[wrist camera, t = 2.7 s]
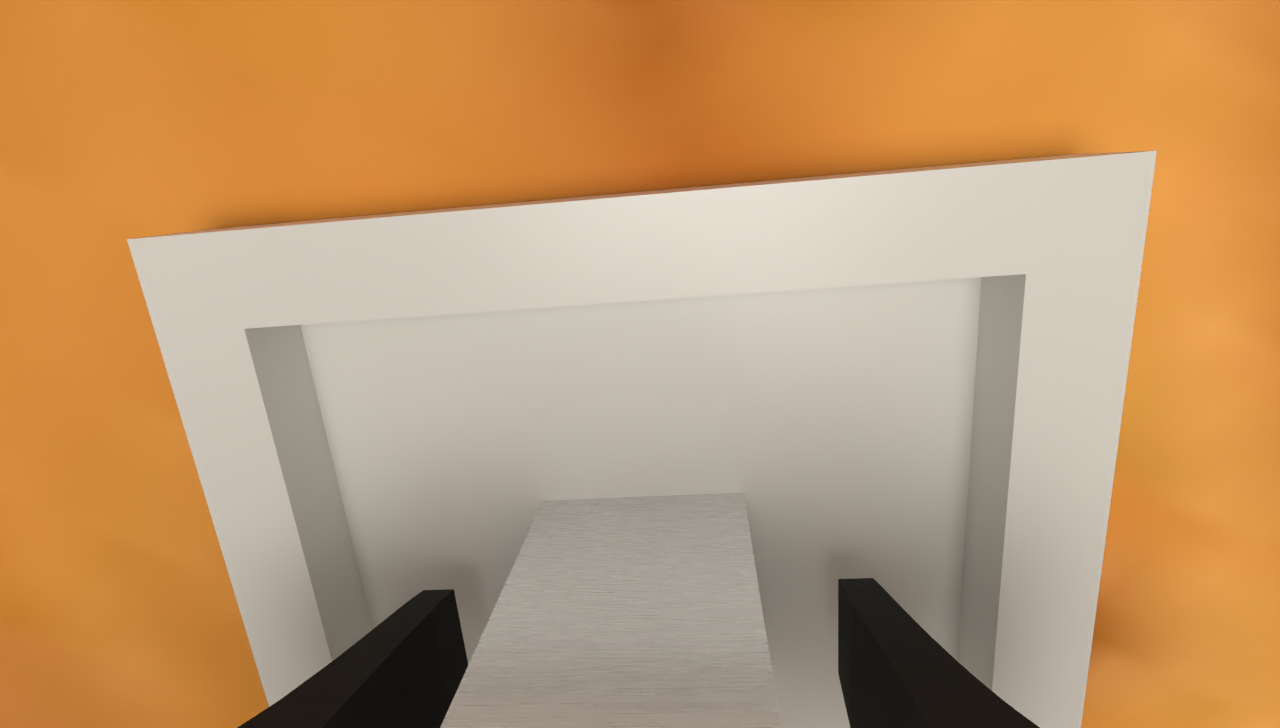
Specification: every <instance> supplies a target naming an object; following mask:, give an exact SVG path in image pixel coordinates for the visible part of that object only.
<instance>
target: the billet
mask: <svg viewBox="0 0 1280 728" xmlns="http://www.w3.org/2000/svg"><path fill="white" fill-rule="evenodd" d="M440 728H781V724H780V717H779V711H778V705H777V699H776V692H775V686H774V680H773V674H772V667H771V661H770V655H769V648H768V642H767V636H766V630H765V623H764V617H763V611H762V605H761V598H760V592H759V586H758V580H757V573H756V567H755V561H754V555H753V548H752V542H751V536H750V529H749V523H748V517H747V511H746V504H745V498H744V493H724V494H699V495H674V496H649V497H624V498H600V499H575V500H550V501H542V503H541V505H540V508H539V510H538V512H537V514H536V516H535V519H534V521H533V523H532V525H531V527H530V530H529V532H528V534H527V536H526V539H525V541H524V543H523V545H522V547H521V550H520V552H519V554H518V556H517V559H516V561H515V563H514V565H513V567H512V570H511V572H510V574H509V576H508V578H507V581H506V583H505V585H504V587H503V590H502V592H501V594H500V596H499V598H498V601H497V603H496V605H495V607H494V609H493V612H492V614H491V616H490V618H489V621H488V623H487V625H486V627H485V629H484V632H483V634H482V636H481V638H480V640H479V643H478V645H477V647H476V649H475V652H474V654H473V656H472V658H471V660H470V663H469V665H468V667H467V669H466V671H465V674H464V676H463V678H462V680H461V683H460V685H459V687H458V689H457V691H456V694H455V696H454V698H453V700H452V702H451V705H450V707H449V709H448V711H447V714H446V716H445V718H444V720H443V722H442V725H441V727H440Z"/></svg>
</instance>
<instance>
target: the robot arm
mask: <svg viewBox="0 0 1280 728" xmlns="http://www.w3.org/2000/svg"><path fill="white" fill-rule="evenodd" d="M467 667H468V660H467V655H466V650H465V644H464V639H463V634H462V629H461V624H460V619H459V613H458V608H457V603H456V598H455V593H454V589H446V590H423V591H422V592H420V593H419V594H417V595H416V596H414V597H413V598H412V599H410V600H409V601H408V602H406V603H405V604H404V605H403V606H401V607H400V608H399V609H398V610H396V611H395V612H394V613H393V614H391V615H390V616H389V617H388V618H386V619H385V620H384V621H383V622H381V623H380V624H379V625H378V626H376V627H375V628H374V629H373V630H371V631H370V632H369V633H368V634H366V635H365V636H364V637H363V638H361V639H360V640H359V641H357V642H356V643H355V644H354V645H352V646H351V647H350V648H349V649H347V650H346V651H345V652H344V653H342V654H341V655H340V656H339V657H337V658H336V659H335V660H333V661H332V662H331V663H329V664H328V665H327V666H325V667H324V668H323V669H321V670H320V671H318V672H317V673H316V674H314V675H313V676H312V677H310V678H309V679H308V680H306V681H305V682H303V683H302V684H301V685H299V686H298V687H297V688H295V689H294V690H293V691H291V692H290V693H289V694H287V695H286V696H284V697H283V698H282V699H280V700H279V701H277V702H276V703H274V704H273V705H271V706H270V707H268V708H267V709H265V710H264V711H262V712H261V713H259V714H258V715H256V716H255V717H253V718H252V719H250V720H249V721H247V722H246V723H244V724H242V725H241V726H239V727H238V728H440V727H441V725H442V722H443V720H444V718H445V716H446V714H447V711H448V709H449V707H450V705H451V702H452V700H453V698H454V696H455V694H456V691H457V689H458V687H459V685H460V683H461V680H462V678H463V676H464V674H465V671H466V669H467ZM838 674H839V679H840V683H841V688H842V693H843V697H844V702H845V706H846V711H847V715H848V719H849V724H850V728H1040V727H1038V726H1037V725H1036V724H1034V723H1033V722H1032V721H1030V720H1029V719H1027V718H1026V717H1025V716H1023V715H1022V714H1021V713H1019V712H1018V711H1017V710H1015V709H1014V708H1013V707H1011V706H1010V705H1009V704H1008V703H1006V702H1005V701H1004V700H1002V699H1001V698H1000V697H999V696H997V695H996V694H995V693H994V692H993V691H991V690H990V689H989V688H988V687H987V686H986V685H984V684H983V683H982V682H981V681H980V680H978V679H977V678H976V677H975V676H974V675H972V674H971V673H970V672H969V671H968V670H967V669H966V668H965V667H963V666H962V665H961V664H960V663H959V662H958V661H957V660H956V659H955V658H954V657H952V656H951V655H950V654H949V653H948V652H947V651H946V650H945V649H944V648H943V647H942V646H941V645H940V644H939V643H938V642H936V641H935V640H934V639H933V638H932V637H931V636H930V635H929V634H928V633H927V632H926V631H925V630H924V629H923V628H922V627H921V626H920V625H919V624H918V623H917V622H916V621H915V620H914V619H913V618H912V617H911V616H910V615H909V614H908V613H907V612H906V611H905V610H904V609H903V608H902V607H901V606H900V605H899V604H898V603H897V602H896V601H895V600H894V599H893V598H892V597H891V596H890V594H889V593H888V592H887V591H886V590H885V589H884V588H883V587H882V586H881V585H880V584H879V583H878V582H877V581H876V580H875V579H873V578H855V579H838Z"/></svg>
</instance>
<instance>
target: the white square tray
mask: <svg viewBox="0 0 1280 728" xmlns="http://www.w3.org/2000/svg"><path fill="white" fill-rule="evenodd" d="M1156 153H1157V151H1139V152H1114V153H1089V154H1070V155H1059V156H1047V157H1036V158H1024V159H1013V160H1001V161H990V162H978V163H966V164H955V165H943V166H932V167H920V168H909V169H897V170H886V171H874V172H863V173H851V174H839V175H828V176H816V177H805V178H793V179H782V180H770V181H759V182H747V183H735V184H724V185H712V186H701V187H689V188H678V189H666V190H655V191H643V192H632V193H620V194H608V195H597V196H585V197H574V198H562V199H551V200H539V201H528V202H516V203H504V204H493V205H481V206H470V207H458V208H447V209H435V210H424V211H412V212H401V213H389V214H377V215H366V216H354V217H343V218H331V219H320V220H308V221H297V222H285V223H274V224H262V225H250V226H239V227H227V228H216V229H207V230H199V231H191V232H183V233H175V234H167V235H158V236H150V237H142V238H134V239H127V241H128V245H129V248H130V251H131V255H132V258H133V261H134V264H135V268H136V271H137V274H138V278H139V281H140V284H141V287H142V291H143V294H144V297H145V301H146V304H147V307H148V310H149V314H150V317H151V320H152V324H153V327H154V330H155V333H156V337H157V340H158V343H159V347H160V350H161V353H162V356H163V360H164V363H165V366H166V370H167V373H168V376H169V379H170V383H171V386H172V389H173V393H174V396H175V399H176V403H177V406H178V409H179V412H180V416H181V419H182V422H183V426H184V429H185V432H186V435H187V439H188V442H189V445H190V449H191V452H192V455H193V458H194V462H195V465H196V468H197V472H198V475H199V478H200V481H201V485H202V488H203V491H204V495H205V498H206V501H207V504H208V508H209V511H210V514H211V518H212V521H213V524H214V527H215V531H216V534H217V537H218V541H219V544H220V547H221V550H222V554H223V557H224V560H225V564H226V567H227V570H228V573H229V577H230V580H231V583H232V587H233V590H234V593H235V597H236V600H237V603H238V606H239V610H240V613H241V616H242V620H243V623H244V626H245V629H246V633H247V636H248V639H249V643H250V646H251V649H252V652H253V656H254V659H255V662H256V666H257V669H258V672H259V675H260V679H261V682H262V685H263V689H264V692H265V695H266V698H267V702H268V705H269V707H270V706H271V705H273V704H274V703H276V702H277V701H279V700H280V699H282V698H283V697H284V696H286V695H287V694H289V693H290V692H291V691H293V690H294V689H295V688H297V687H298V686H299V685H301V684H302V683H303V682H305V681H306V680H308V679H309V678H310V677H312V676H313V675H314V674H316V673H317V672H318V671H320V670H321V669H323V668H324V667H325V666H327V665H328V664H329V663H331V662H332V661H333V660H335V659H336V658H337V657H339V656H340V655H341V654H342V653H344V652H345V651H346V650H347V649H349V648H350V647H351V646H352V645H354V644H355V643H356V642H357V641H359V640H360V639H361V638H363V637H364V636H365V635H366V634H368V633H369V632H370V631H371V630H373V629H374V628H375V627H376V626H378V625H379V624H380V623H381V622H383V621H384V620H385V619H386V618H388V617H389V616H390V615H391V614H393V613H394V612H395V611H396V610H398V609H399V608H400V607H401V606H403V605H404V604H405V603H406V602H408V601H409V600H410V599H412V598H413V597H414V596H416V595H417V594H419V593H420V592H422V591H423V590H446V589H454V593H455V598H456V603H457V608H458V613H459V619H460V624H461V629H462V634H463V639H464V644H465V650H466V655H467V660H468V665H469V663H470V660H471V658H472V656H473V654H474V652H475V649H476V647H477V645H478V643H479V640H480V638H481V636H482V634H483V632H484V629H485V627H486V625H487V623H488V621H489V618H490V616H491V614H492V612H493V609H494V607H495V605H496V603H497V601H498V598H499V596H500V594H501V592H502V590H503V587H504V585H505V583H506V581H507V578H508V576H509V574H510V572H511V570H512V567H513V565H514V563H515V561H516V559H517V556H518V554H519V552H520V550H521V547H522V545H523V543H524V541H525V539H526V536H527V534H528V532H529V530H530V527H531V525H532V523H533V521H534V519H535V516H536V514H537V512H538V510H539V508H540V505H541V503H542V501H550V500H575V499H600V498H624V497H649V496H674V495H699V494H724V493H744V498H745V504H746V511H747V517H748V523H749V529H750V536H751V542H752V548H753V555H754V561H755V567H756V573H757V580H758V586H759V592H760V598H761V605H762V611H763V617H764V623H765V630H766V636H767V642H768V648H769V655H770V661H771V667H772V674H773V680H774V686H775V692H776V699H777V705H778V711H779V717H780V724H781V728H850V724H849V719H848V715H847V711H846V706H845V702H844V697H843V693H842V688H841V683H840V679H839V674H838V579H855V578H873V579H875V580H876V581H877V582H878V583H879V584H880V585H881V586H882V587H883V588H884V589H885V590H886V591H887V592H888V593H889V594H890V596H891V597H892V598H893V599H894V600H895V601H896V602H897V603H898V604H899V605H900V606H901V607H902V608H903V609H904V610H905V611H906V612H907V613H908V614H909V615H910V616H911V617H912V618H913V619H914V620H915V621H916V622H917V623H918V624H919V625H920V626H921V627H922V628H923V629H924V630H925V631H926V632H927V633H928V634H929V635H930V636H931V637H932V638H933V639H934V640H935V641H936V642H938V643H939V644H940V645H941V646H942V647H943V648H944V649H945V650H946V651H947V652H948V653H949V654H950V655H951V656H952V657H954V658H955V659H956V660H957V661H958V662H959V663H960V664H961V665H962V666H963V667H965V668H966V669H967V670H968V671H969V672H970V673H971V674H972V675H974V676H975V677H976V678H977V679H978V680H980V681H981V682H982V683H983V684H984V685H986V686H987V687H988V688H989V689H990V690H991V691H993V692H994V693H995V694H996V695H997V696H999V697H1000V698H1001V699H1002V700H1004V701H1005V702H1006V703H1008V704H1009V705H1010V706H1011V707H1013V708H1014V709H1015V710H1017V711H1018V712H1019V713H1021V714H1022V715H1023V716H1025V717H1026V718H1027V719H1029V720H1030V721H1032V722H1033V723H1034V724H1036V725H1037V726H1038V727H1040V728H1081V722H1082V715H1083V707H1084V699H1085V692H1086V684H1087V677H1088V669H1089V661H1090V654H1091V646H1092V639H1093V631H1094V623H1095V616H1096V608H1097V601H1098V593H1099V585H1100V578H1101V570H1102V563H1103V555H1104V548H1105V540H1106V532H1107V525H1108V517H1109V510H1110V502H1111V494H1112V487H1113V479H1114V472H1115V464H1116V456H1117V449H1118V441H1119V434H1120V426H1121V418H1122V411H1123V403H1124V396H1125V388H1126V381H1127V373H1128V365H1129V358H1130V350H1131V343H1132V335H1133V327H1134V320H1135V312H1136V305H1137V297H1138V289H1139V282H1140V274H1141V267H1142V259H1143V251H1144V244H1145V236H1146V229H1147V221H1148V213H1149V206H1150V198H1151V191H1152V183H1153V176H1154V168H1155V160H1156Z"/></svg>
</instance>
